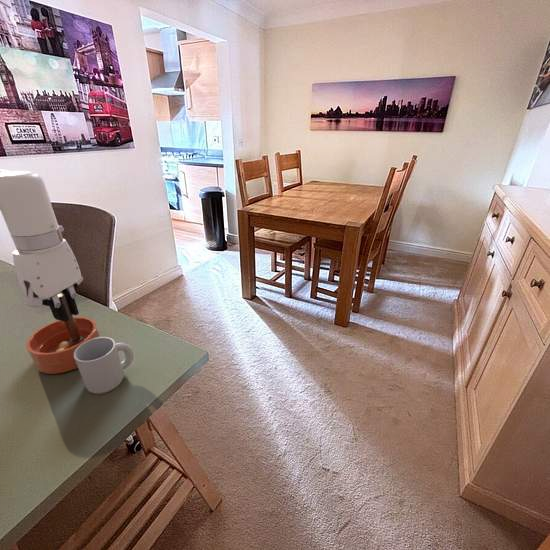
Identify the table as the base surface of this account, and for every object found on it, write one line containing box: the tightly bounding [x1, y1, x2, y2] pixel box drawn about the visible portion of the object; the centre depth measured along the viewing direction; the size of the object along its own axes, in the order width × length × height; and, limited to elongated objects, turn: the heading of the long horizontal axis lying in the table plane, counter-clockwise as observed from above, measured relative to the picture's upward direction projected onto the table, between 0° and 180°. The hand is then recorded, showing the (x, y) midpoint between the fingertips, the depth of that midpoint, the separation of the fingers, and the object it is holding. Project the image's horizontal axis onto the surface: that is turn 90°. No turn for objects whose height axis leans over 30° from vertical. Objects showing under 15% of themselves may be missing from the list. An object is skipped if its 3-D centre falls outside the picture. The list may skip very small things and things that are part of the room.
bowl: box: [25, 316, 101, 375], centre depth 69 cm, size 13×13×6 cm
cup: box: [74, 336, 134, 395], centre depth 62 cm, size 7×10×9 cm
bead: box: [59, 341, 70, 349], centre depth 70 cm, size 2×2×2 cm
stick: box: [57, 292, 84, 347], centre depth 67 cm, size 3×3×14 cm
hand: (67, 316), depth 67 cm, fingers closed on stick
